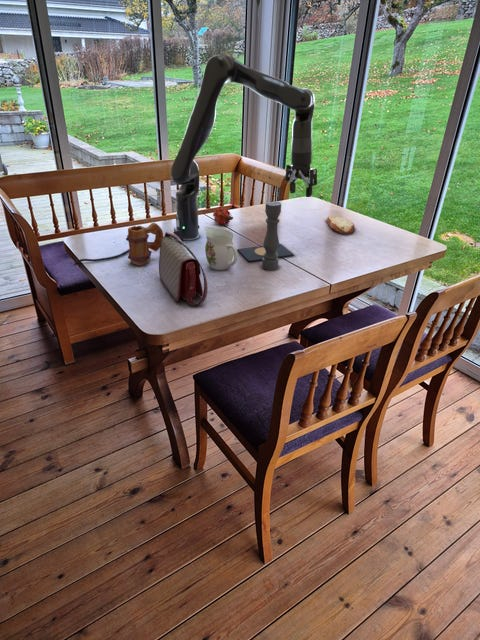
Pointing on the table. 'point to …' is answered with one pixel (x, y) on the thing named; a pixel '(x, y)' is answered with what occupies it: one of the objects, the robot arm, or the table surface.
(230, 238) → the pitcher
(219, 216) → the dragon fruit
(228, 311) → the table surface
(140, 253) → the mug
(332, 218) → the bread slice
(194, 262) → the handbag
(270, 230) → the candle holder
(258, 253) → the placemat
